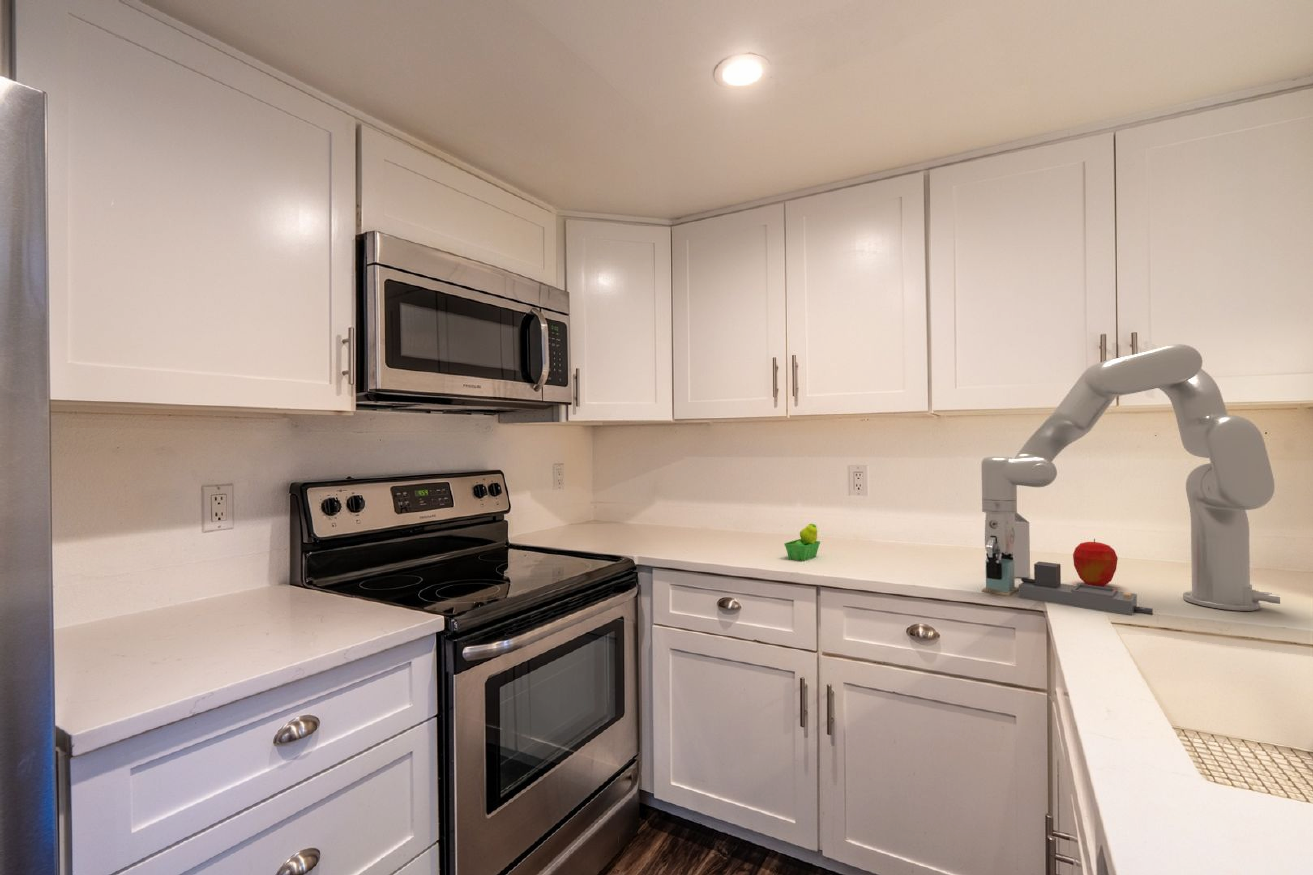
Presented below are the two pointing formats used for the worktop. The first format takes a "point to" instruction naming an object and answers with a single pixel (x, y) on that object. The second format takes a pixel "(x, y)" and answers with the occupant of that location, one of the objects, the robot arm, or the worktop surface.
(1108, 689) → the worktop surface
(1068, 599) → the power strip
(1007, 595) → the cork pad
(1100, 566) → the apple
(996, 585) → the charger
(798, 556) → the fruit basket
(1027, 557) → the milk carton
